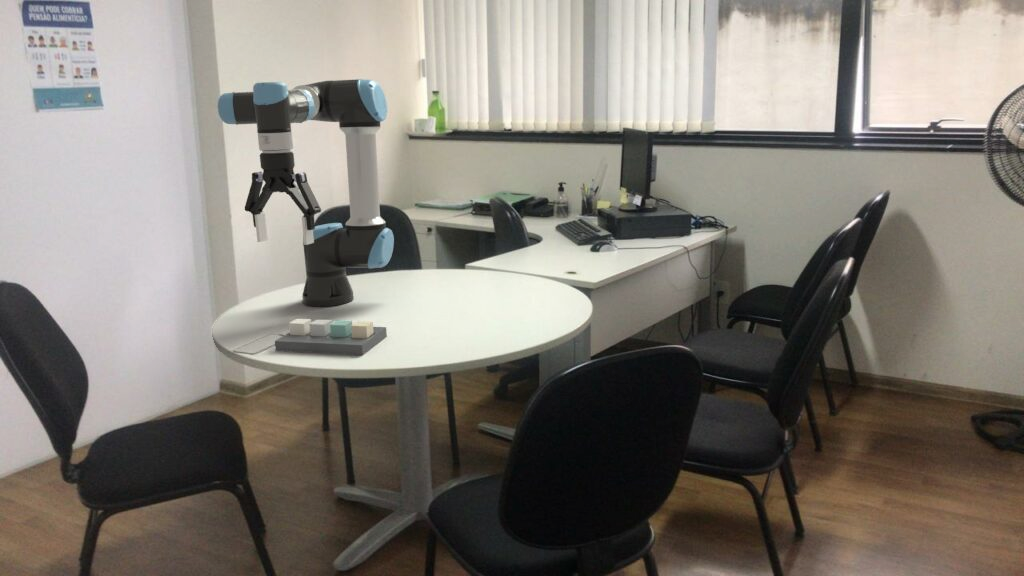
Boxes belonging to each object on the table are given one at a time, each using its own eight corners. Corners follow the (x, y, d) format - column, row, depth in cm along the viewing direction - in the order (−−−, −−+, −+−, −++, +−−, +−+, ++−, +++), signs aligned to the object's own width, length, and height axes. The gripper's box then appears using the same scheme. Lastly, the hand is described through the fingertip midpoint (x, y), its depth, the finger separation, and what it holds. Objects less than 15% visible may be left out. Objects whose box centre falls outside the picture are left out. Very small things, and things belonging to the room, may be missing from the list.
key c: (338, 332, 200) (337, 320, 200) (352, 332, 200) (351, 320, 199) (331, 336, 197) (330, 324, 196) (346, 337, 196) (345, 325, 195)
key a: (297, 330, 203) (296, 318, 202) (312, 331, 202) (310, 319, 201) (290, 334, 199) (288, 323, 198) (304, 335, 198) (303, 323, 198)
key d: (358, 333, 199) (357, 321, 198) (373, 333, 198) (372, 321, 198) (352, 337, 195) (351, 325, 195) (367, 338, 194) (366, 326, 194)
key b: (317, 331, 202) (316, 319, 201) (332, 331, 201) (331, 320, 200) (310, 335, 198) (309, 323, 197) (325, 336, 197) (324, 324, 196)
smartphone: (230, 350, 195) (271, 333, 209) (231, 353, 195) (271, 335, 209) (254, 354, 192) (294, 336, 206) (254, 356, 192) (294, 338, 206)
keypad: (304, 332, 209) (304, 323, 208) (386, 336, 204) (386, 327, 203) (275, 350, 195) (274, 341, 194) (363, 355, 190) (362, 345, 189)
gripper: (222, 152, 184) (233, 242, 189) (310, 152, 174) (319, 247, 179) (244, 149, 191) (254, 237, 196) (331, 150, 181) (338, 241, 186)
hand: (285, 242), depth 188 cm, fingers open, 13 cm apart
